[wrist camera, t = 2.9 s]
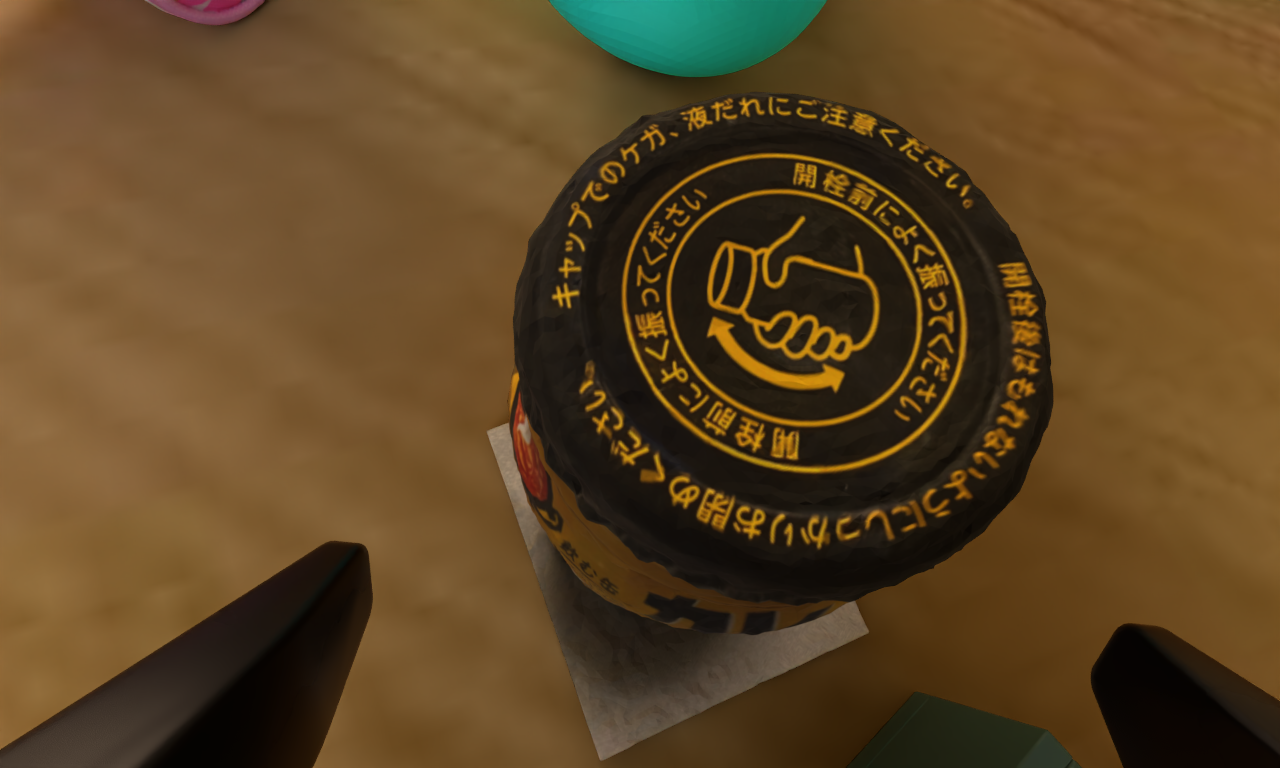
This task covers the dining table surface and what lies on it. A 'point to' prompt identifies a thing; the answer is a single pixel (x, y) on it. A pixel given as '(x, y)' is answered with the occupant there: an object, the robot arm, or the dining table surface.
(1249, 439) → the dining table surface
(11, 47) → the dining table surface
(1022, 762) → the square tray
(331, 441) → the dining table surface
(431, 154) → the dining table surface
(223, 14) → the pencil case
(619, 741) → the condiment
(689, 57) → the donuts
